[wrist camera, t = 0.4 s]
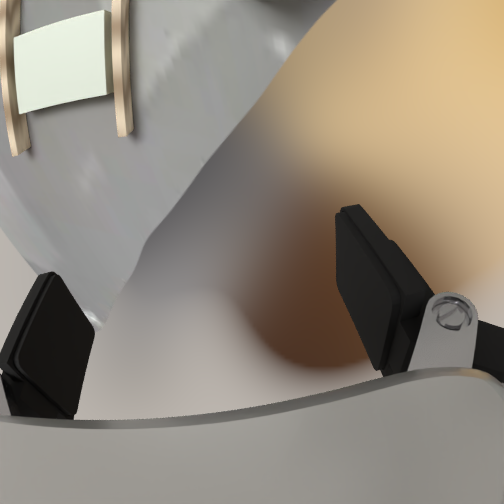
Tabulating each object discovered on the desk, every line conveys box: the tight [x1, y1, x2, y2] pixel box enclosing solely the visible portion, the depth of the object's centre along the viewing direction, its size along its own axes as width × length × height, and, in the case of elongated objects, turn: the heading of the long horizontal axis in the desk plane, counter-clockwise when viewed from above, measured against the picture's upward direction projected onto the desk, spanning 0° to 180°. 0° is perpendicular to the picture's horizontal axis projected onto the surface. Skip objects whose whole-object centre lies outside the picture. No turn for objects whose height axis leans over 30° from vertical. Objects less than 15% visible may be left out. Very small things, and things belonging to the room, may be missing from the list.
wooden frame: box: [0, 0, 134, 157], centre depth 24 cm, size 26×16×4 cm, turn 179°
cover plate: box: [14, 10, 114, 114], centre depth 26 cm, size 10×12×4 cm
